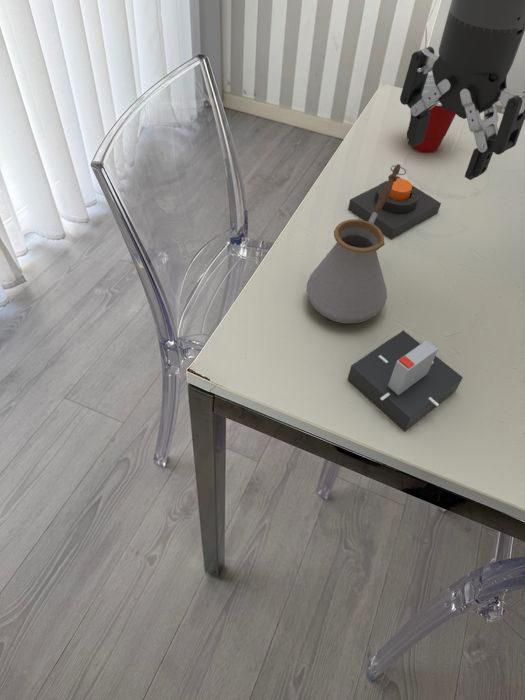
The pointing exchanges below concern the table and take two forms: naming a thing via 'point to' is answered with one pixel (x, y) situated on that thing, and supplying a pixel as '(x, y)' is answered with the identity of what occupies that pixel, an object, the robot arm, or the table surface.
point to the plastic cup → (434, 122)
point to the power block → (395, 210)
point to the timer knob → (412, 367)
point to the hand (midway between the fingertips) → (442, 159)
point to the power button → (400, 190)
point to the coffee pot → (352, 269)
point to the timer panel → (415, 400)
